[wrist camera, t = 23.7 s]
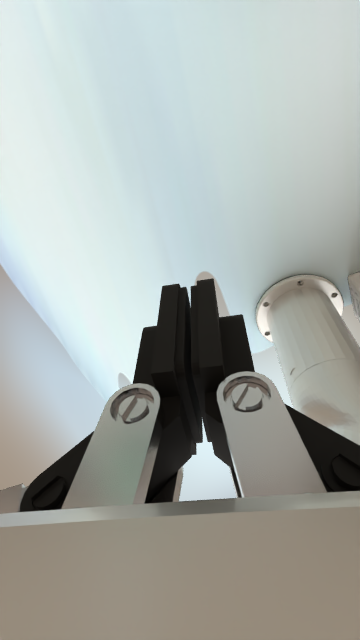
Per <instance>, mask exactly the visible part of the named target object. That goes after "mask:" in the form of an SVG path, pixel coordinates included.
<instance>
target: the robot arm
mask: <svg viewBox="0 0 360 640" xmlns="http://www.w3.org/2000/svg"><path fill="white" fill-rule="evenodd" d="M343 309H344V302H343V298H342V295H341V294H340V292H339V290H338V289H337V288H336V286H335V285H334V284H333V283H331V282H330V281H329V280H327V279H325V278H323V277H319V276H315V275H298V276H293V277H289V278H287V279H284V280H282V281H280V282H278V283H277V284H275V285H273V286H272V287H271V288H270V289H269V290H267V291H266V292H265V294H264V295H263V296H262V297H261V299H260V301H259V303H258V305H257V309H256V322H257V326H258V329H259V331H260V332H261V334H262V335H263V336H264V337H265V338H266V339H267V340H269V341H270V342H272V343H274V346H275V350H276V353H277V356H278V359H279V363H280V366H281V369H282V372H283V375H284V379H285V382H286V386H287V389H288V392H289V395H290V399H291V402H292V405H293V408H294V409H293V408H291V407H290V406H288V405H286V404H284V402H283V400H282V398H281V396H280V394H279V392H278V390H277V388H276V386H275V385H274V383H273V382H272V381H271V380H270V379H269V378H267V377H266V376H265V375H262V374H259V373H257V372H255V371H254V366H253V361H252V356H251V351H250V347H249V342H248V337H247V333H246V328H245V323H244V319H243V315H242V314H241V315H234V316H226V317H219V313H218V307H217V300H216V292H215V286H214V279H207V280H200V281H197V285H196V286H191V307H190V302H189V297H188V292H187V288H186V287H183V288H180V284H173V285H166V286H162V292H161V300H160V307H159V315H158V322H157V326H152V327H145V328H144V329H143V332H142V337H141V342H140V348H139V353H138V358H137V364H136V369H135V375H134V380H133V384H131V385H128V386H125V387H123V388H122V389H120V390H118V391H116V392H115V393H114V394H113V395H112V396H111V397H110V398H109V400H108V402H107V403H106V405H105V407H104V410H103V412H102V414H101V417H100V419H99V422H98V424H97V426H96V429H95V431H93V432H92V433H91V434H90V435H89V436H87V437H86V438H85V439H84V440H82V441H81V442H80V443H79V444H77V445H76V446H75V447H74V448H72V449H71V450H70V451H69V452H67V453H66V454H65V455H64V456H62V457H61V458H60V459H59V460H57V461H56V462H55V463H54V464H52V465H51V466H50V467H49V468H47V469H46V470H45V471H44V472H43V473H41V474H40V475H39V476H38V477H37V478H36V479H35V480H34V481H33V482H32V483H31V484H30V485H29V486H27V487H25V486H24V485H23V484H19V485H16V486H13V487H9V488H6V489H3V490H0V640H360V347H359V345H358V344H357V342H356V340H355V339H354V337H353V335H352V334H351V332H350V331H349V329H348V327H347V326H346V324H345V322H344V321H343V319H342V318H341V316H342V314H343ZM202 419H203V423H204V427H205V432H206V436H207V440H208V442H212V445H213V450H214V454H215V455H216V456H217V457H218V458H219V459H221V460H222V461H223V462H224V463H226V464H227V465H228V466H229V468H230V473H231V477H232V481H233V484H234V488H235V492H236V496H237V498H229V499H215V500H214V499H213V500H197V501H182V502H179V496H180V490H181V484H182V478H183V465H184V464H185V463H186V462H187V461H188V460H189V459H190V458H191V456H192V455H196V443H202V442H203V440H202V439H203V434H202Z"/></svg>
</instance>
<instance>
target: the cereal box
mask: <svg viewBox="0 0 360 640" xmlns="http://www.w3.org/2000/svg"><path fill="white" fill-rule="evenodd" d="M348 283H349V288H350V293H351V298H352V304H353V309H354V314H355V316H356V318H357V319H358V320H359V322H360V272H357V273H354V274H351V275H349V276H348Z"/></svg>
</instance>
